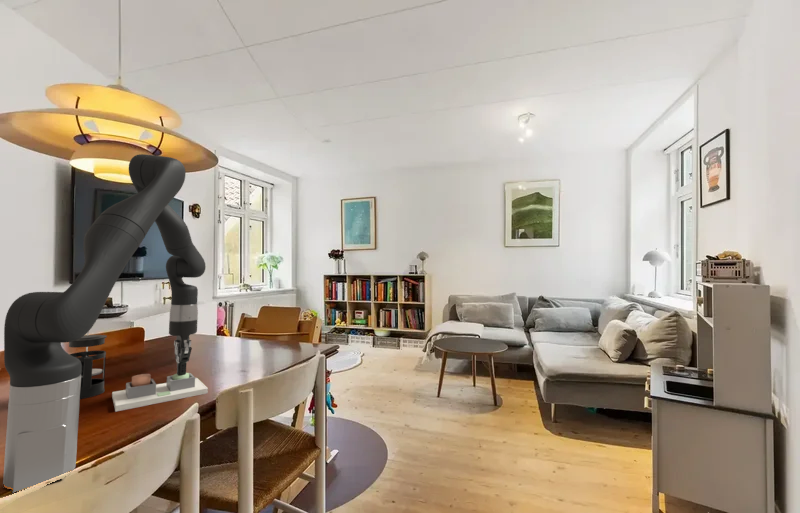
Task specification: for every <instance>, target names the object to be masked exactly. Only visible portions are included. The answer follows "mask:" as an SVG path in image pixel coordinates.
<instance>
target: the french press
mask: <svg viewBox="0 0 800 513" xmlns="http://www.w3.org/2000/svg"><path fill="white" fill-rule="evenodd" d="M89 333H90V330H89V331H88V332H87V333H86V334H85V335H84V336H83V337H81V338H80V339H78V340H76V341H72V342H68V347H69V348H76V349H77V348H85V351H78V352H73V353H69V354H70V355H72V356H74V357H76V358H78V359H79V360H80V361H81V364H82V369H81V386H80V400H81V399H82V400H83V399H87V398H92V397H96V396H98V395H101V394H103V393H104V392H105V390H106V389H105V374H106V373H105V372H106V358H107V357H106V355H107V352H106V351H105V350H88V348H89V347H90V348H91V347H96V346H101V345H104V344H105V343H106V342H105V341H106V339H107V336H108V335H106V334H105V335H104V334H103V335H102V334H89ZM100 359H103V369H102V368H93V361H98V360H100ZM101 374H102V378H98V377H97V376H99V375H101ZM95 376H96V377H97V378H92V377H95Z"/></svg>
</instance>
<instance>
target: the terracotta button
mask: <svg viewBox="0 0 800 513" xmlns="http://www.w3.org/2000/svg"><path fill="white" fill-rule="evenodd" d="M151 376H152V375H151V373H141V374H137V375H132V376H131V382H132V387H137V386H143V385H149V384H150V380H151V379H152V378H151Z"/></svg>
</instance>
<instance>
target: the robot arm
mask: <svg viewBox="0 0 800 513" xmlns="http://www.w3.org/2000/svg"><path fill="white" fill-rule="evenodd" d="M128 174H129V177H130V181H131V183H132V185H133V186H134V188H135V191H136V192H137V193H136V194H133V195H132V196H130V197H127V198H125V199H122V200H121V201H119V202H116V203H114V204H113V205H111V206H109V207H107V208H106V209H104V211H103V212H101V213H100V214H99V216H98V217H97V218H96V219H95V220H94V222H93V223H92V224H91V225H90V226H89V228H88V230H87V231H86V232H85V235H84V237H83V256H84V264H83V267H82V269H81V271H80V273H79V274H77V277H76V278H75V280H74V281H73V282H72V283H71V285H69V286H68V288H67V289H66V290H65V291H53V292H52V291H34V292H28V293H25V294H22V295H21V296H19V297H17V299H15V300H14V301H13V302H12V303H11V305H10V307H9V308H8V310H7V312H6V316H5V320H4V325H3V326H4V328H3V335H4V336H3V341H4V343H3V345H4V346H3V347H4V349H3V350H4V351H3V352H4V354H3V359H4V360H3V361H4V367H5V371H6V373H8V375H9V391H8V392H9V393H8V395H9V396H8V405H7V407H8V408H7V417H6V418H7V421H6V434H5V435H6V436H5V447H4V448H5V450H4V460H3V461H4V462H3V463H4V465H3V476H2V477H3V479H2V485H3V484H4V485H5V486H7V487H11V488H13V491H12V490H11V491H12V492H11V493H12V494H15V493H14V492H16V491H19V490H22V489H24V488H27V487H30V486H33V485H36V484H38V483H41V482H43V481H46V480H49V479H51V478H53V477H56V476H59V475H61V474H64V473H66V472H68V471H70V470H72V471H74V469H76V466H77V464H76V463H77V450H78V433H79V432H78V431H79V419H80V418H79V416H80V415H79V414H80V400H81V399H80V386H81V369H82V364H81V361H80V360H79V359H78V358H76V357H74V356H72V355H70V354H71V353H68V352H67V351H65V349H64V348H63V347H62V343H69V342H72V341H76V340H78V339H80V338H81V337H83V336H85V335H87V332H88V331H89V332H90V330H91V329H92V328H93V327H94V325H95V323H96V322H97V320H98V318H99V316H100V314H101V312H102V310H103V309H104V306H105V304H106V302H107V300H108V298H109V297H110V295H111V292H112V291H113V288H114V286H115V285H116V283H117V281H118V279H119V278H120V276H121V274H122V272H123V271H124V269H125V267H126V266H127V264H128V263H129V261H130V259H131V258H132V256H133V255H134V254H135V252H136V251H137V250H138V248H139V246H141V244H142V242H143V241H144V239H145V238H146V236H147V234H148V232H149V231H150V229H151V227H152V226H153V225H154V223H155V224H156V227H157V229H158V230H159V234H160V235H161V239H162V241H163V244H164V247H165V250H166V252H167V253H168V254H169V255H171V256H170V257H168V259H166V262H165V270H166V271H165V272H166V274H167V278H168V282H169V286H170V292H171V296H170V297H171V299H170V300H171V301H170V308H169V320H168V322H169V323H168V324H169V325H168V335H170V336H173V337H176V339H175V340H174V342H173V346H174V356H175V357H174V358H175V361H176V374H178V375H179V376H180V375H185V374H186V373H187V363H188V362H189V361H190V356H191V352H192V349H193V348H192V340H191V339H190V335H195V334H197V332H198V319H199V317H198V315H199V309H198V296H199V295H198V294H199V292H198V290H199V289H198V287H197V286H196V285H192V284H187V283H185V282H184V280H183V278H189V279H190V278H191V279H193V278H200V277H201V276H203V275H204V274H205V272H206V267H207V266H206V262H205V259H204V258H203V255H201V253H200V252H199V250H198V249H197V247H196V245H194V243H193V240H192V237H191V233H190V231H189V227H188V225H187V224H186V222H185V221H184V219H183V218H182V217H181V216H180V215H179V214H178V213H177V212H176V211H175V210H174V209H173V207H171V205H169V204H170V203H171V202H172V200H173V199H174V198H175V197H176V195H177V194H178V193H179V192H180V191H181V189H182V188H183V186H184V183H185V181H186V180H185V179H186V168H185V165H184V164H183V163H182V162H181V160H179V159H177V158H174V157H170V156H163V155H154V154H143V153H141V154H140V153H139V154H136V155H134V156H133V157H132V158H131V159H130V160H129V164H128ZM16 493H17V492H16Z"/></svg>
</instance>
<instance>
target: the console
mask: <svg viewBox="0 0 800 513" xmlns="http://www.w3.org/2000/svg"><path fill="white" fill-rule="evenodd" d="M188 373H189V378H184V379H179V380H172V379H173V375H168V376H166V382H164V383H156V381H155V380H154V378H151V380H150V384H149V385H143V386H137V387H132V381H130V382H126V383H125V389H123V390H116V391H112V393H111V397H112V402H113V406H114V412H115V413H116V412H120V411H121V412H122V411H126V410H131V409H135V408H140V407H146V406H149V405H155V404H160V403H166V402H171V401H177V400H179V399H184V398H185V399H187V398H191V397H194V396H201V395H206V394H209V393H208V392H209V388H208V386H206V385H205V384H204V383H203V381H201V380H200V379H199V378H198V377H195V376H194V375H193V374H192V373H191V372H188Z"/></svg>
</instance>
